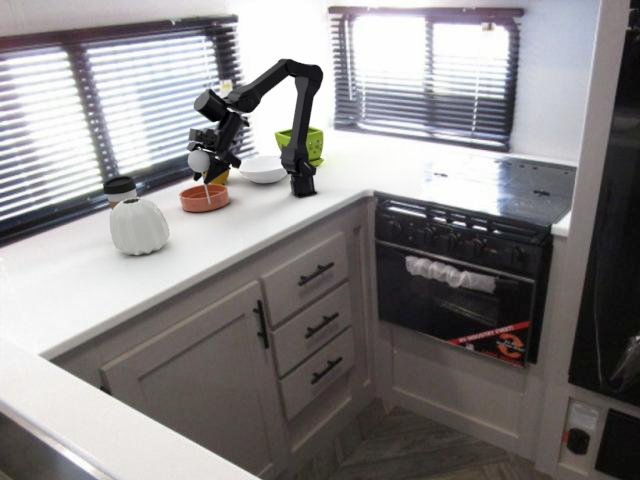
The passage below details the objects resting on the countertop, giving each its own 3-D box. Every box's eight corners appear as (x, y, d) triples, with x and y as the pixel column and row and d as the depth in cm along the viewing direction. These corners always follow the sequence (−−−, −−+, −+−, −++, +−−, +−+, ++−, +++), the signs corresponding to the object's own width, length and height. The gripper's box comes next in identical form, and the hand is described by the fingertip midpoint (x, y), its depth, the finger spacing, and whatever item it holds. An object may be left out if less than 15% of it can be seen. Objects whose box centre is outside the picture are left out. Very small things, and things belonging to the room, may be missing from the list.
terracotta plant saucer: (223, 194, 188) (220, 181, 186) (235, 206, 177) (232, 192, 175) (178, 204, 182) (174, 190, 180) (188, 216, 171) (184, 202, 169)
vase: (118, 264, 143) (101, 214, 136) (117, 245, 154) (102, 197, 148) (175, 252, 148) (162, 203, 141) (170, 234, 159) (158, 188, 152)
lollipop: (211, 208, 156) (198, 154, 149) (194, 206, 158) (180, 153, 151) (225, 200, 161) (213, 147, 154) (208, 199, 163) (195, 146, 156)
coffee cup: (155, 226, 165) (140, 176, 158) (134, 238, 158) (118, 185, 151) (132, 224, 168) (116, 174, 160) (110, 236, 161) (93, 184, 153)
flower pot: (312, 158, 221) (307, 124, 215) (328, 165, 210) (324, 130, 204) (278, 165, 214) (272, 131, 208) (293, 173, 204) (288, 137, 198)
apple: (210, 180, 203) (202, 147, 197) (236, 179, 202) (229, 145, 196) (199, 188, 195) (191, 154, 189) (227, 188, 194) (219, 153, 188)
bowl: (306, 181, 195) (304, 162, 192) (251, 194, 186) (248, 175, 183) (282, 169, 210) (280, 152, 207) (230, 181, 200) (227, 163, 197)
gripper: (184, 111, 156) (157, 162, 155) (222, 118, 145) (193, 172, 143) (215, 134, 165) (191, 182, 164) (253, 142, 154) (227, 193, 152)
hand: (199, 182), depth 155 cm, fingers closed on lollipop, 5 cm apart
